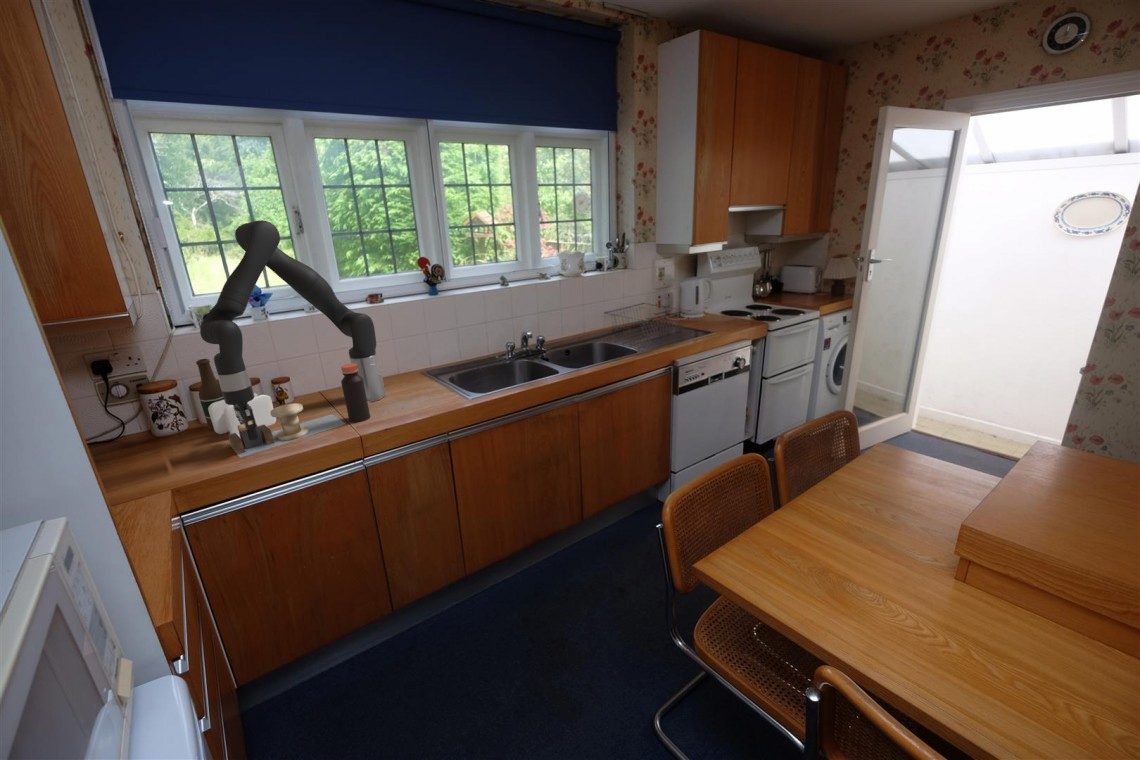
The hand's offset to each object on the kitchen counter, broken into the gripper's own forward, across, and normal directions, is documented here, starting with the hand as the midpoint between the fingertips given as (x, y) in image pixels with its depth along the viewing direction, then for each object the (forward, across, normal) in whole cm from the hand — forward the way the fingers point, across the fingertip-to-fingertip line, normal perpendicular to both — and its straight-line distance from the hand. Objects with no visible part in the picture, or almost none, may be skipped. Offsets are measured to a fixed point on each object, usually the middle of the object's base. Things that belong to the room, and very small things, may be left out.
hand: (250, 435), depth 153 cm
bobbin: (+3, -2, -11) cm, 12 cm away
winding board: (+4, 0, -10) cm, 11 cm away
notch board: (+3, 0, 0) cm, 3 cm away
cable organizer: (+4, +17, -2) cm, 18 cm away
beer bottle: (+4, +29, +3) cm, 29 cm away
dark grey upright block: (+3, 0, 0) cm, 3 cm away
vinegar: (+4, -6, -31) cm, 32 cm away
